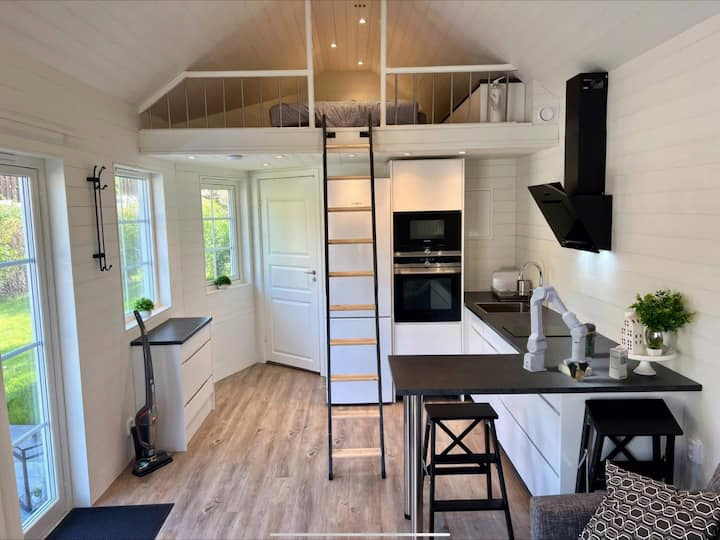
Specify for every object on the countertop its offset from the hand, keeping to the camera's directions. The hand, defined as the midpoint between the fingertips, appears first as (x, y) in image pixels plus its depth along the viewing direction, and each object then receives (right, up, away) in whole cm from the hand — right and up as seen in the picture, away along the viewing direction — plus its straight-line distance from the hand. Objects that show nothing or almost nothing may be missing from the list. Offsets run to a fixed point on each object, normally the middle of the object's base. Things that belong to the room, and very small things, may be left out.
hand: (577, 377), depth 243 cm
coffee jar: (+22, +3, +39) cm, 45 cm away
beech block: (0, -1, 0) cm, 1 cm away
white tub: (+3, 0, +11) cm, 11 cm away
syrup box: (+22, -1, +4) cm, 22 cm away
